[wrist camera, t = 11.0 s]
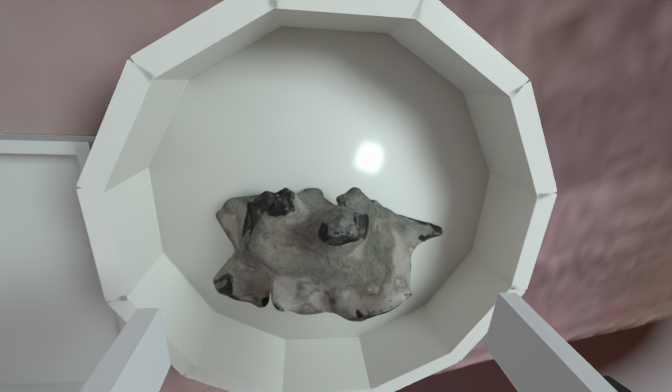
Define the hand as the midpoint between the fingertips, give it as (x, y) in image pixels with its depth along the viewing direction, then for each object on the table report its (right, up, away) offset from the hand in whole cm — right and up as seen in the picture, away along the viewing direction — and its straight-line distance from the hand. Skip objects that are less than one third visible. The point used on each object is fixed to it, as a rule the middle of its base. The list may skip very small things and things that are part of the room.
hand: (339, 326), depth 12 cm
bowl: (-1, +4, +12) cm, 12 cm away
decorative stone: (-1, +3, +11) cm, 12 cm away
